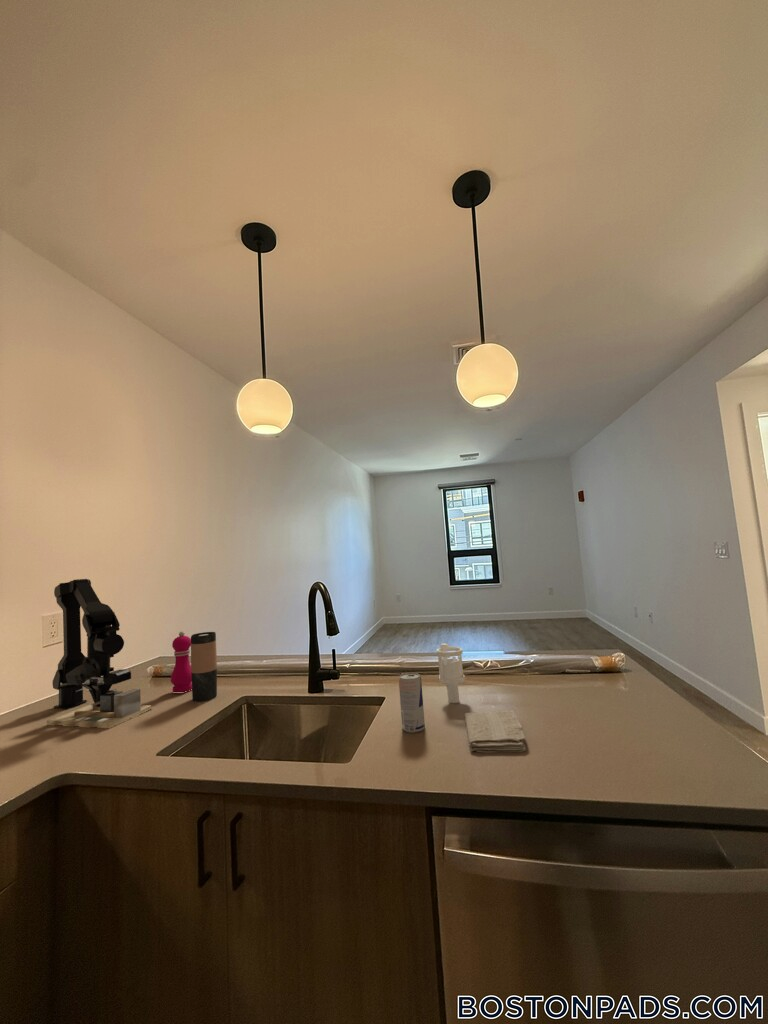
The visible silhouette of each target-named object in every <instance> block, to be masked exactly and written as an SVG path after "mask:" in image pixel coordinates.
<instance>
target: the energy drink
mask: <svg viewBox="0 0 768 1024" xmlns="http://www.w3.org/2000/svg"><path fill="white" fill-rule="evenodd" d="M422 684H423V683H422V677H421V675H420V674H419V673H417V672H407V673H402V674H400V675H399V678H398V688H399V699H400V700H399V703H400V716H401V727H402V730H403V731H404V732H406V733H409V734H411V733H412V734H416V733H419V732H422V731H423V730H424V729H425V728H426V726H425V725H426V724H425V723H426V722H425V713H424V712H425V711H424V709H425V708H424V698H423V686H422Z"/></svg>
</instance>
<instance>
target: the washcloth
mask: <svg viewBox="0 0 768 1024" xmlns="http://www.w3.org/2000/svg"><path fill="white" fill-rule="evenodd" d="M464 724H465V727H466V733H467V735H466V736H467V740H468V741H467V742H468V744H469V745H468V747H469V751H470V753H473V752H477V753H478V752H479V753H521V752H525V751H526V750H527V748H526V745H525V742H524V740H526V736H525V734H524V730H523V726H522V725H521V723H520V722H519V719H518V717H517V716H516V713H515V712H514V710H497V711H491V712H490V711H489V712H485V711H481V712H480V711H476V712H466V713H464Z"/></svg>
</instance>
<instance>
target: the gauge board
mask: <svg viewBox="0 0 768 1024" xmlns="http://www.w3.org/2000/svg"><path fill="white" fill-rule="evenodd" d="M122 692H123V693H120V694H117V695H114V712H100V707H96V706H91V704H92V703H91V704H88V705H85V706H82V707H80V708H77V709H75V710H72V711H69V712H66V713H63V714H61V715H58V716H56V717H53V718H50V719H48V720H46V726H55V725H63V726H62V727H73V726H79V727H78V728H90V727H97V728H96V729H107V728H110V729H112V728H114V727H116V726H118V724H119V725H120V723H121V724H122V722H123V723H125V722H128V721H129V720H128V719H130V718H132V717H134V718H136V717H138V716H137V715H139V714H141V713H143V712H145V713H147V712H146V711H148V710H150V709H153V706H152V705H147V704H141V702H142V701H141V688H131V689H128V690H125V691H122ZM150 711H151V710H150ZM148 712H149V711H148ZM143 714H144V713H143ZM141 715H142V714H141ZM135 716H136V717H135ZM139 716H140V715H139ZM132 719H133V718H132ZM130 720H131V719H130ZM124 721H125V722H124ZM115 725H116V726H115ZM113 726H114V727H113ZM111 727H112V728H111Z"/></svg>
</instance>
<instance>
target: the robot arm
mask: <svg viewBox="0 0 768 1024" xmlns="http://www.w3.org/2000/svg"><path fill="white" fill-rule="evenodd" d="M53 594H54V597H55V598H56V604H57V605H58V606H59V607H60V608H61V610H62V624H63V625H62V627H63V629H62V630H63V655H62V657H61V659H60V660H59V662H58V664H57V670H56V671H55V673H54V676H53V679H52V688H53V690H56V691H58V704H57V705H54V706H53V708H54V709H70V708H73V707H76V706H78V705H81V704H84V703H86V702H88V700H87V699H84V688H85V689H87V690H88V691H89V694H90V695H91V698H92V702H93V703H96V702H99V701H100V696H101V695H104V694H106V693H107V691H109V690H111V688H112V687H113V685H117V684H120V683H123V682H126V681H128V680H131V679H132V671H131V670H130V669H122V668H121V669H120V668H119V669H117V670H115V667H113V666H112V667H111V658H114V657H115V656H114V655H116V654H119V653H120V652H121V651H122V650H123V648H124V645H125V640H124V639H123V636H121V635H120V634H117V632H118V631H120V625H121V624H120V622H119V620H118V617H117V616H116V613H115V612H114V610H113V609H112V608H111V606H109V605H108V604H105V603H103V602H102V601H100V599H99V597H98V595H97V593H96V592H95V589H94V588H93V587H92V582H91V579H89V578H79V579H73V580H70V581H69V582H68V581H67V582H60V583H59V584H57V586H54V593H53ZM81 610H82V611H83V616H82V619H81ZM81 621H82V622H81ZM81 623H82V626H81ZM81 627H83V629H84V631H85V633H86V637H87V638H86V639H87V640H86V641H87V643H86V646H87V647H86V649H87V650H86V651H87V653H86V654H87V656H85V655H84V654H83V652H82V633H81V632H82V631H81V629H82V628H81ZM95 706H96V707H100V704H98V705H95Z"/></svg>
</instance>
